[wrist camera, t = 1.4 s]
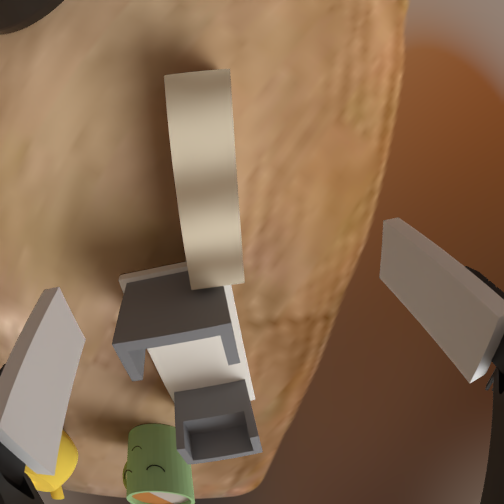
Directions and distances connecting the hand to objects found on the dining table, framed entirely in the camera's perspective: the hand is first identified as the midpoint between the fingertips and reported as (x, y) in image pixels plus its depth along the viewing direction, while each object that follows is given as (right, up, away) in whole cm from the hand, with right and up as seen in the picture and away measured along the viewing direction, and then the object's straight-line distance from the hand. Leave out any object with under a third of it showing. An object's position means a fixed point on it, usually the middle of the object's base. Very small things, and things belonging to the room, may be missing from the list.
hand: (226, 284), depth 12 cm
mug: (-16, -30, +33) cm, 48 cm away
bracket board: (-6, -10, +25) cm, 28 cm away
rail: (-3, +9, +16) cm, 19 cm away
